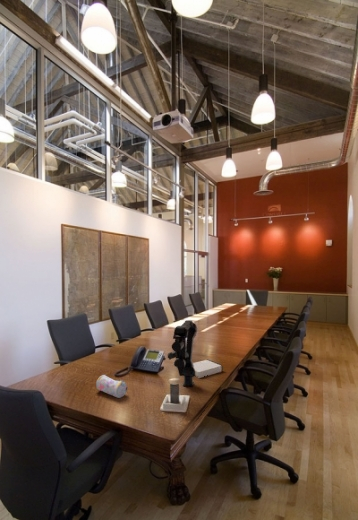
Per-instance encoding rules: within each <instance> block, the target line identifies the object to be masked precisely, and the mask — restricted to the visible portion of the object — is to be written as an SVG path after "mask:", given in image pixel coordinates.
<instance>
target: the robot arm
mask: <svg viewBox="0 0 358 520" xmlns="http://www.w3.org/2000/svg"><path fill="white" fill-rule="evenodd" d="M197 332H198V326H197V324H196V323H194V321H193V320H191V319H190V320H186V319H185V320H184V322H183V323H182V324H181V325H177V326H175V328H174V330H173V336H172V339H173V340H174V341H173V343H172V344H171V349H172V351H170V352H168V353H167V359H168V360H169V361H170V360H172V359H175V360H174V362H173V366H174V367H176V368H177V371H178V374H179V377H183V383H182V387H194V384H195V383H194V380H193V379H194V377H195V376H196V375H195V369H194V365H193V363H194V362H193V361H192V358H193V348H194V347H193V346H194V339H195V338H196V336H197Z"/></svg>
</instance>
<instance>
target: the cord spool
mask: <svg viewBox="0 0 358 520" xmlns="http://www.w3.org/2000/svg"><path fill="white" fill-rule="evenodd" d="M180 383H181V379H180V378H177V377H174V378H170V379H168V384H169V391H170V392H169V395H170V402H169V403H172V404H181V402H180V401H179V395H180Z"/></svg>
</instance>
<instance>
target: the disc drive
mask: <svg viewBox="0 0 358 520" xmlns="http://www.w3.org/2000/svg"><path fill="white" fill-rule="evenodd" d="M192 363H193V365H194V369H195V375H196V378H197V377H198V379H200V378H204V376H205V377H207V375H208V376H212V375H215V374H218V373H222V372H223V365H222V364H220V363H219V362H215V361H213V360H210V359H209V358H207V359H204V360H201V361H195V362H192Z"/></svg>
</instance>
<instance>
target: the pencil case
mask: <svg viewBox="0 0 358 520" xmlns="http://www.w3.org/2000/svg"><path fill="white" fill-rule="evenodd" d="M95 387H96V389H97V390H98V391H101V392H103V393H106V394H108V395H110V396H113V397H115V398H118V399H120V398H123V397H124V396H125V395H126V393H127V391H128V386H127V384H126V381H124V380H122V379H121V380H115V379H113V378H111V377H109V376H107V375H105V374H103V375H100V376H99V377H98V378H97V379H96V382H95Z"/></svg>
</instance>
